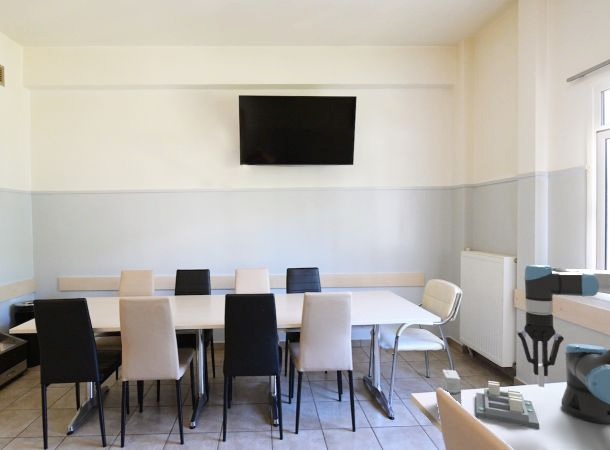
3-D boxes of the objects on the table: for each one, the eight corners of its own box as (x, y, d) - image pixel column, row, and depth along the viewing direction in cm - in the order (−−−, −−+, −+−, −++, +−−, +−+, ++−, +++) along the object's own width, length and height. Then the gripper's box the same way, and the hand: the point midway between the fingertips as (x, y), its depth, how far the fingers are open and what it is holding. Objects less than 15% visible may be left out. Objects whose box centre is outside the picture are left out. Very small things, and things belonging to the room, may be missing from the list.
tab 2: (519, 406, 125) (519, 390, 125) (521, 411, 122) (520, 394, 122) (508, 405, 126) (507, 388, 126) (509, 409, 123) (508, 392, 124)
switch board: (531, 405, 129) (531, 395, 129) (539, 428, 114) (538, 417, 114) (476, 396, 137) (476, 387, 137) (476, 416, 121) (476, 406, 122)
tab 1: (499, 397, 132) (498, 382, 133) (499, 401, 129) (499, 385, 130) (488, 395, 134) (488, 380, 134) (489, 399, 131) (488, 383, 131)
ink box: (462, 413, 124) (461, 378, 125) (447, 411, 125) (446, 377, 126) (456, 401, 133) (455, 369, 133) (442, 400, 134) (442, 369, 134)
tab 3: (521, 414, 120) (521, 397, 120) (523, 418, 117) (522, 401, 117) (509, 411, 121) (509, 395, 122) (510, 416, 118) (510, 399, 119)
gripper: (560, 311, 118) (562, 384, 117) (514, 308, 123) (516, 377, 123) (565, 316, 111) (567, 393, 110) (517, 312, 117) (519, 386, 116)
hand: (540, 385), depth 116 cm, fingers closed
